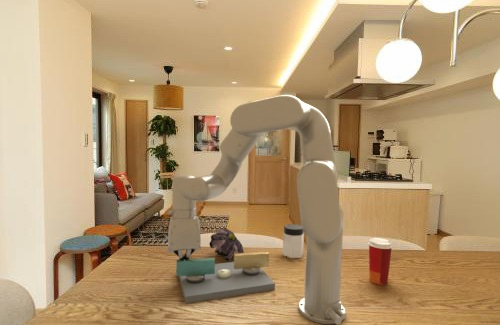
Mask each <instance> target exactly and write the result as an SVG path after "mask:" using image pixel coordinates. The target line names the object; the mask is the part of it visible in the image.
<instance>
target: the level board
mask: <svg viewBox="0 0 500 325" xmlns="http://www.w3.org/2000/svg"><path fill="white" fill-rule="evenodd" d="M262 268H263V267H260V273H259V274H257V275H246V274H244V273H243V272H242V269H234V261H231V262H229V261H228V262H222V263H221V262H220V263H215V274H205V280H204V281H202V282H199V283H190V282H188V281H187V280H186V276H178V278H180V279H179V282H180V287H182V288H181V291H182V296H183V300H184V304H191V303H192V304H193V303H198V302H204V301H210V300H216V299H224V298H229V297H235V296H242V295H247V294H254V293H260V292H261V293H262V292H267V291H268V292H269V291H272V290H273V291H274V290H275V289H276V288H275V287H276V286H275V285H276V283H275V282H274V281H273V279H271V277H270V276H269V275H268V274H267V273H266V271H265V270H263V269H262Z"/></svg>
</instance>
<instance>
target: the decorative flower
mask: <svg viewBox="0 0 500 325" xmlns="http://www.w3.org/2000/svg"><path fill="white" fill-rule="evenodd" d="M215 232H216V233H212V234H211V236H210V237H209V238H210V241H209V243H208V244H209V248H211V249H214V248H215V251H214V253H215V254H217V255H218V256H219V257H224V261H225V262H229V261H230V260H232V258H234V254H240V253H245V252H244V247H243V245H242V243H241V241H240V240H239V239H238V238H237V237H236V235H235V233H234V232H233V231H232V230H230V229H227V228H219V229H216V230H215Z"/></svg>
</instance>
